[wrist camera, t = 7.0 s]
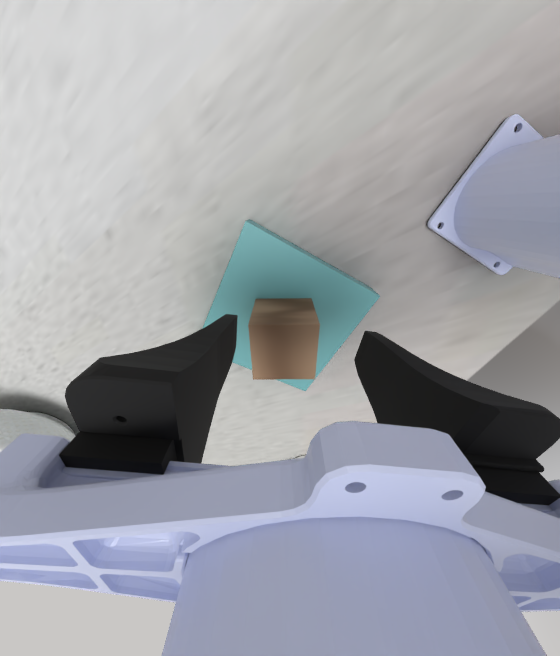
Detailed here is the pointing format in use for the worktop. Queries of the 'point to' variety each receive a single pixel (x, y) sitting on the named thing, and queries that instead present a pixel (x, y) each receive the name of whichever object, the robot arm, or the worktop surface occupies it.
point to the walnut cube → (284, 338)
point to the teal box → (288, 292)
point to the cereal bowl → (30, 426)
